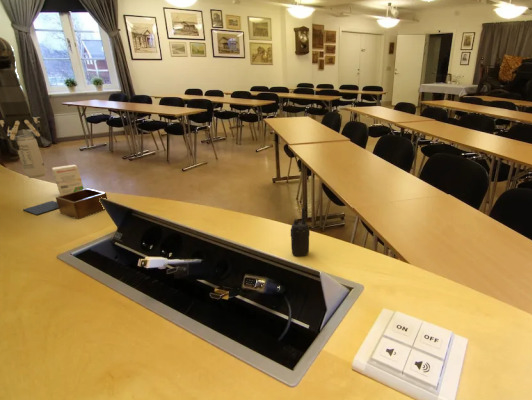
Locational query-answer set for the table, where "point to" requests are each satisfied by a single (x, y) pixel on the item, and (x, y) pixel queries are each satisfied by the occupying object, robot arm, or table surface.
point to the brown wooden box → (80, 203)
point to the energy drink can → (30, 156)
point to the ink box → (67, 179)
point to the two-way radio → (300, 236)
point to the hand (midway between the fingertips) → (27, 148)
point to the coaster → (42, 208)
